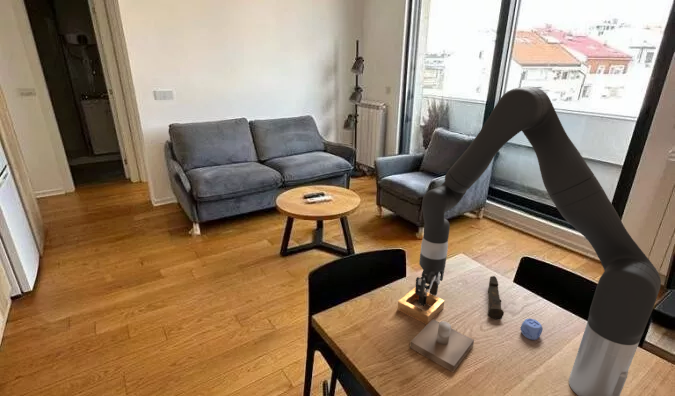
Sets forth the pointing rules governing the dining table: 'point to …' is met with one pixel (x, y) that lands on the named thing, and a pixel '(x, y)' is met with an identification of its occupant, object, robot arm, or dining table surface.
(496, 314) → the hand tool
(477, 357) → the dining table surface
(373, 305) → the dining table surface
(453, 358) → the keeper
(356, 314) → the dining table surface
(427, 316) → the link
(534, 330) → the decorative dice
